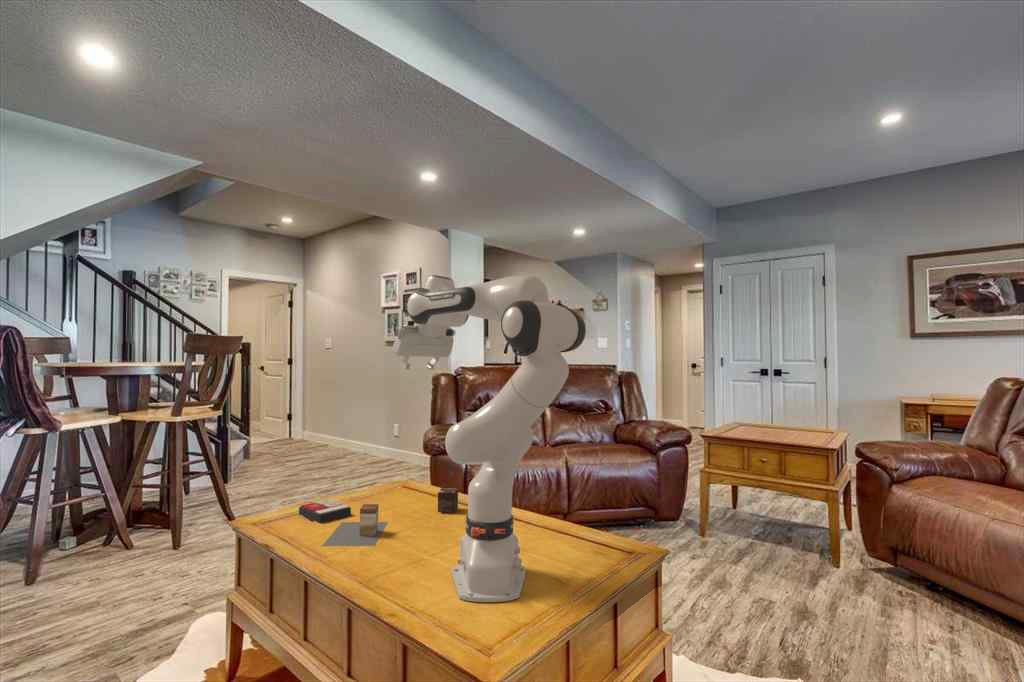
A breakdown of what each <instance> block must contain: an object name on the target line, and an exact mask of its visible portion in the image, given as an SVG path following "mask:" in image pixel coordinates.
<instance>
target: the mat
mask: <svg viewBox="0 0 1024 682" xmlns="http://www.w3.org/2000/svg"><path fill="white" fill-rule="evenodd" d="M388 523H389V522H388V521H378V531H377V533H376V535H375V536H360V521H341V523H339V525H338V526H337V527H336V529H335V530H334V531H333V532H332V533H331V535H330V536H329V537H328V538H326V540H325V541H324V542H323V544H322V546H321V547H351V546H352V547H357V546H358V547H359V546H360V547H371V546H372V547H375V546H376V544H377V542H378V541H379V539H380V537H381V536H382V534H383V532H384V530H385V528H386V526H387V525H388Z"/></svg>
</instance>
